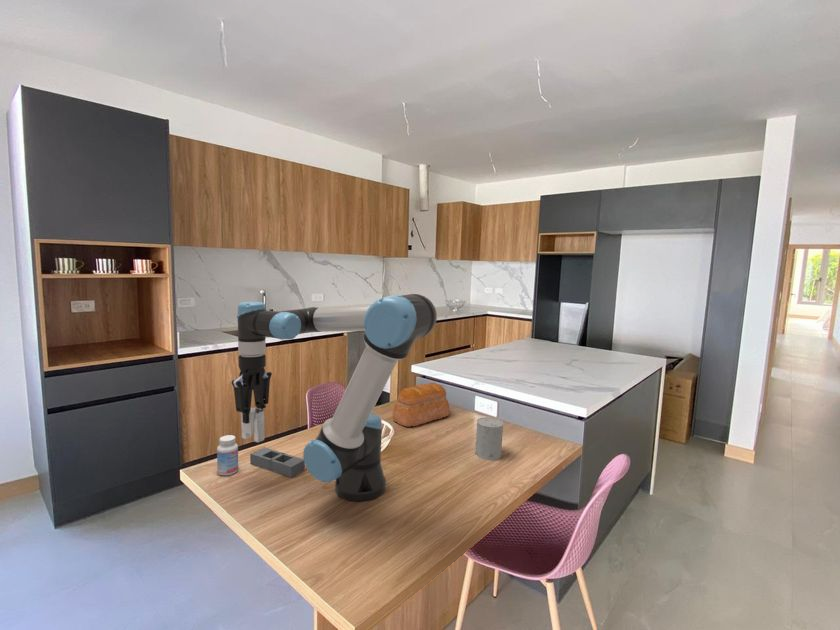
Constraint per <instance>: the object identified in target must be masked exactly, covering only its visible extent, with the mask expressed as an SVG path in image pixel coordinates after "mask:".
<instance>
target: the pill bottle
mask: <svg viewBox="0 0 840 630" xmlns="http://www.w3.org/2000/svg"><path fill="white" fill-rule="evenodd" d="M238 445H239V444H238V443H236V436H235V435H233V434H230V435H229V434H227V435H223V436H221V437H219V445H218V446H217V449H216V458H217V459H216V460H217V461H216V466H217V468H216V470H217V472H216V473H218V475H220V476H231V475H234V474H235V473H237V472H238V471H239V446H238Z"/></svg>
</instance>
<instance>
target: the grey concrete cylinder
mask: <svg viewBox="0 0 840 630" xmlns="http://www.w3.org/2000/svg"><path fill="white" fill-rule="evenodd" d="M503 429H504V421H503V420H501V419H498V418H494V417H490V416H489V417H485V416H484V417H479V418H478V419H477V420H476V433H475V435H476V437H475V451H474V453H475V454H476V455H477V456H478V457H477V456H476V455H475V456H476V457H477V458H479V457H480V458H479V459H481V458H482V459H481V460H484V459H486V460H485V461H497V459H498V460H500V459H501V458H502V450H503V449H502V448H503V434H504V433H503V432H504V430H503Z"/></svg>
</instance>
